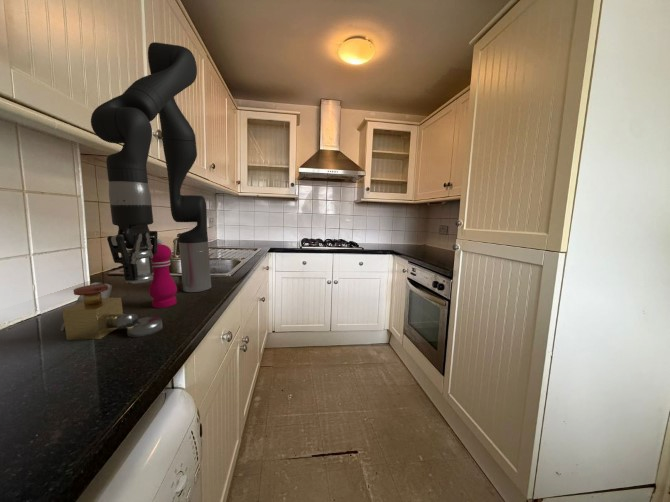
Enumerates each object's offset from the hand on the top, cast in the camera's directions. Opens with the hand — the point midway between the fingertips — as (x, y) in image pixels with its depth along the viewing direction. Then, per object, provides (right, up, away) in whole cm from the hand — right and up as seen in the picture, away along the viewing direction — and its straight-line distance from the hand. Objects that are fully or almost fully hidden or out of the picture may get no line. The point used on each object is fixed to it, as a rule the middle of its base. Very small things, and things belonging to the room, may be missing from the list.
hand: (139, 276), depth 64 cm
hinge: (-20, -12, +10) cm, 26 cm away
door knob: (0, -1, 0) cm, 1 cm away
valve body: (-6, -13, +2) cm, 14 cm away
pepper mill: (-6, -10, +20) cm, 23 cm away
